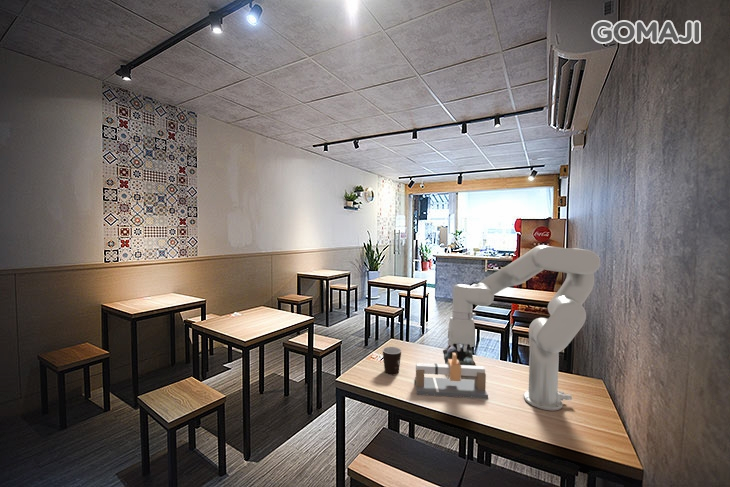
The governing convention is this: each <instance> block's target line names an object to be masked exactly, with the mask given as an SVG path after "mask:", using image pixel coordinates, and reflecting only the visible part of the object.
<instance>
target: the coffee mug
mask: <svg viewBox="0 0 730 487" xmlns="http://www.w3.org/2000/svg"><path fill="white" fill-rule="evenodd" d="M382 357H383V369H384V373H385V374H387V375H390V376H396V375H398V374H399V372H400V367H401V366H400V364H401V357H402V349H401V348H399V347H397V346H396V347H395V346H386V347H384V348H382Z"/></svg>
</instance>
